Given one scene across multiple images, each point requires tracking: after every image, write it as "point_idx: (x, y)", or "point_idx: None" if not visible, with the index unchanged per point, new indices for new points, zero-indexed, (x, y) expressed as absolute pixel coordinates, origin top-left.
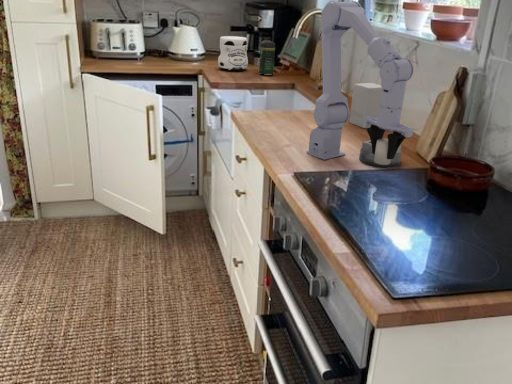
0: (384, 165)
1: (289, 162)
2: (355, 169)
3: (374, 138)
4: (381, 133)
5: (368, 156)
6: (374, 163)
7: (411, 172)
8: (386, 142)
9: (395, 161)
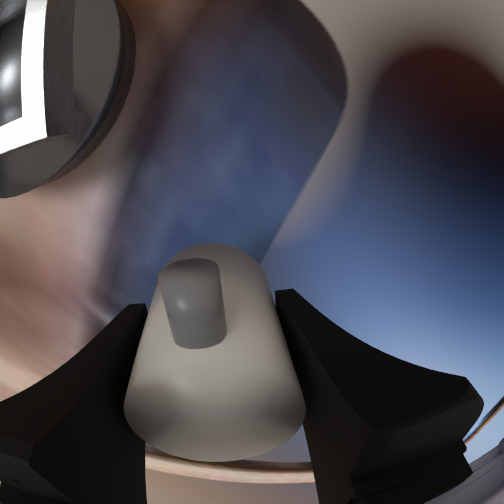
0: (110, 122)
1: None
2: (85, 278)
3: (141, 461)
4: (93, 441)
5: (25, 192)
6: (72, 167)
7: (245, 29)
8: (260, 436)
9: (125, 48)
